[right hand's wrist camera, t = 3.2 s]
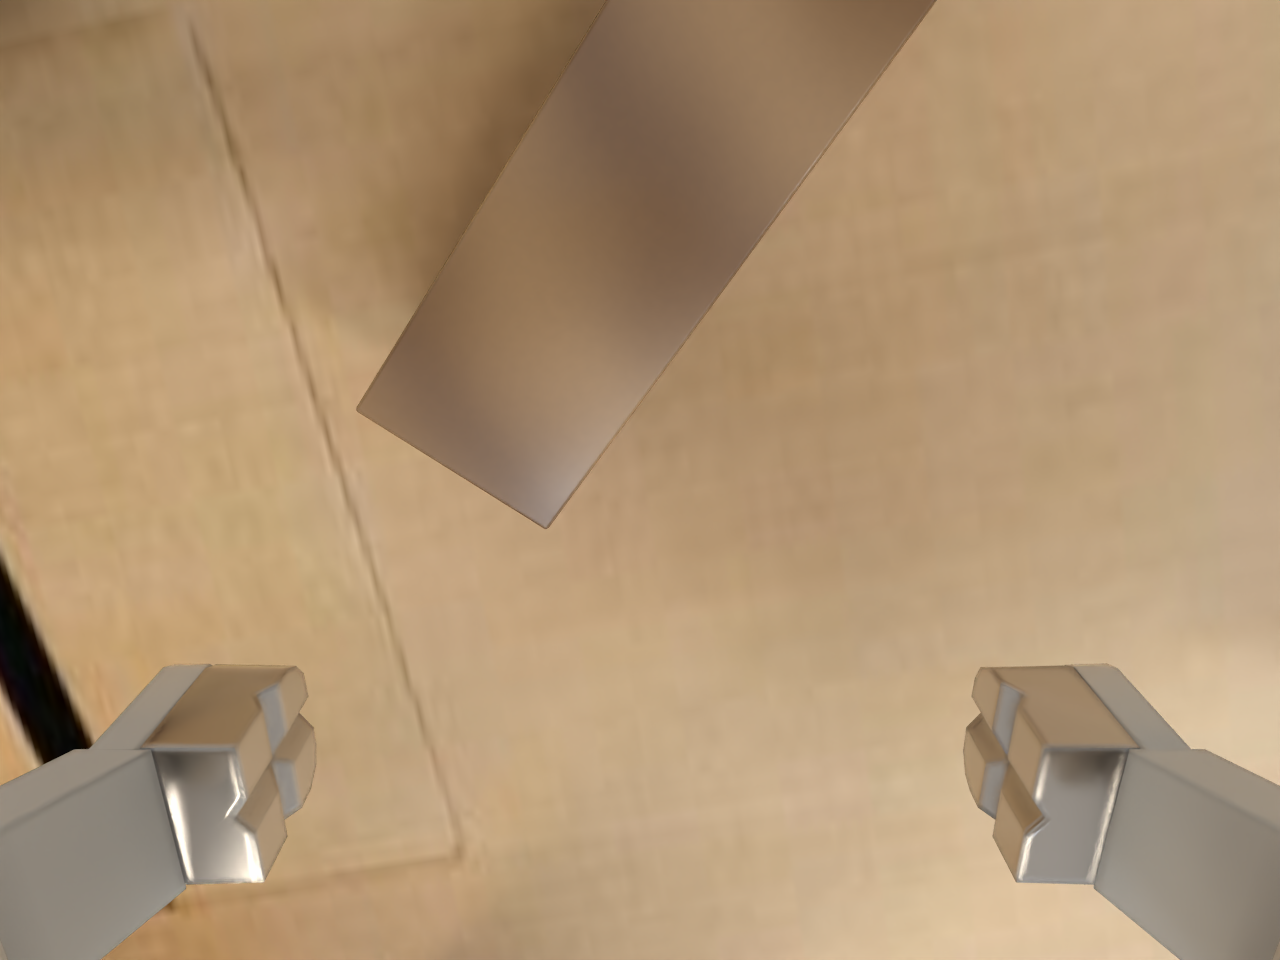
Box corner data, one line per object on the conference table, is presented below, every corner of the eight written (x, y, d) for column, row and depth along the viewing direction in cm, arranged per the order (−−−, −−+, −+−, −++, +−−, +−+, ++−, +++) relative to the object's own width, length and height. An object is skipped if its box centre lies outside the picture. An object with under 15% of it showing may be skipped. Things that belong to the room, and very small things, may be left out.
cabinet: (792, -241, 23) (870, -432, 15) (946, -98, 24) (1090, -209, 16) (429, 339, 28) (353, 411, 21) (569, 431, 30) (546, 531, 22)
